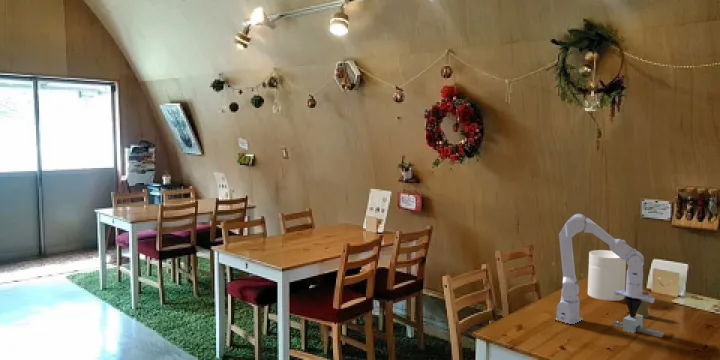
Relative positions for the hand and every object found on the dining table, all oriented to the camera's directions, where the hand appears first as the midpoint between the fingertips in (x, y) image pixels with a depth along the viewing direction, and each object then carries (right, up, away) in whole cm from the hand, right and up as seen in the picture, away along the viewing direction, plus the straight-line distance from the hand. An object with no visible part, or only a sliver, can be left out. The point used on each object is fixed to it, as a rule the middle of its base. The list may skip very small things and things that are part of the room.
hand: (632, 316), depth 219 cm
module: (0, -5, +1) cm, 5 cm away
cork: (+11, -4, +16) cm, 20 cm away
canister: (+9, -1, +44) cm, 45 cm away
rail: (+1, -5, -1) cm, 6 cm away
